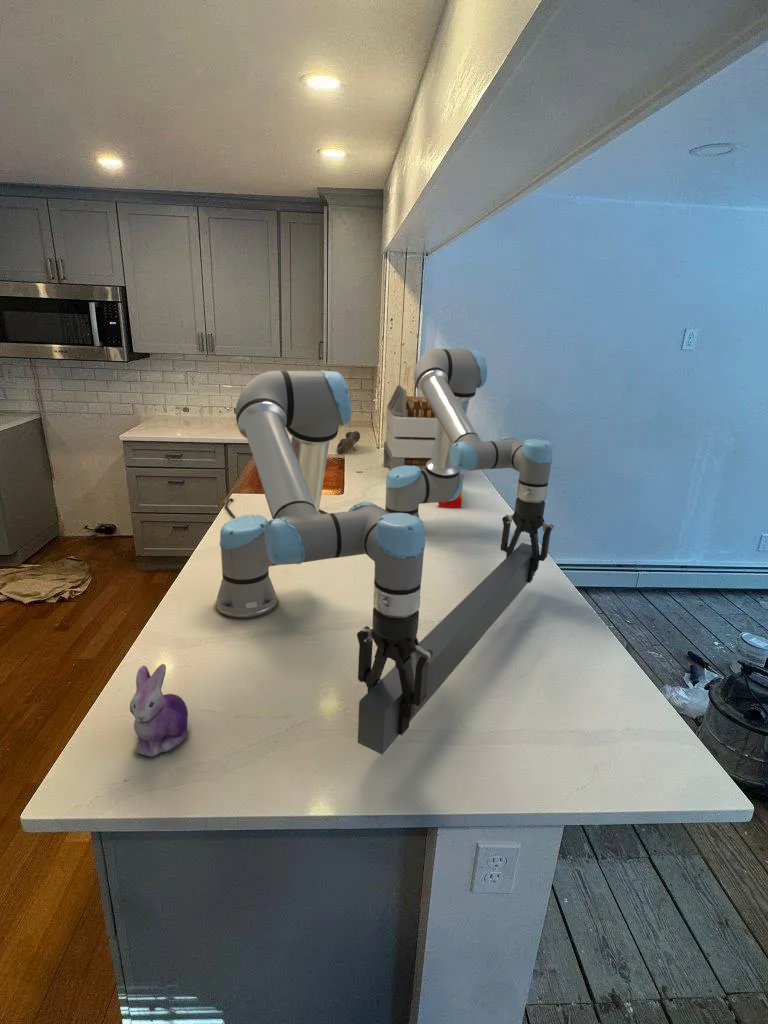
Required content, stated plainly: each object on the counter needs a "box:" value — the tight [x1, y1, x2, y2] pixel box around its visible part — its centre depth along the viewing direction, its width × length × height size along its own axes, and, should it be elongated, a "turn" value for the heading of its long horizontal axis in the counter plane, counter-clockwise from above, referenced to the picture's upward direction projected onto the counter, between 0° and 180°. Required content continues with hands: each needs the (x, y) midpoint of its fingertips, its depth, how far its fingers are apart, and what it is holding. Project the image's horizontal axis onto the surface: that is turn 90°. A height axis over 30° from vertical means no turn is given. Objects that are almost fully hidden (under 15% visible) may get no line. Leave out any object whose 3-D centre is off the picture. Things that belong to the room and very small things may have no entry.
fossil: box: [336, 430, 361, 454], centre depth 311 cm, size 22×10×15 cm
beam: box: [357, 542, 536, 755], centre depth 127 cm, size 83×5×9 cm, turn 149°
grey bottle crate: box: [383, 384, 462, 473], centre depth 268 cm, size 34×33×41 cm
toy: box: [438, 473, 464, 508], centre depth 240 cm, size 12×13×30 cm
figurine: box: [129, 663, 189, 757], centre depth 99 cm, size 9×10×15 cm
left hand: (389, 723), depth 100 cm, fingers closed on beam, 5 cm apart
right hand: (519, 577), depth 157 cm, fingers closed on beam, 5 cm apart
